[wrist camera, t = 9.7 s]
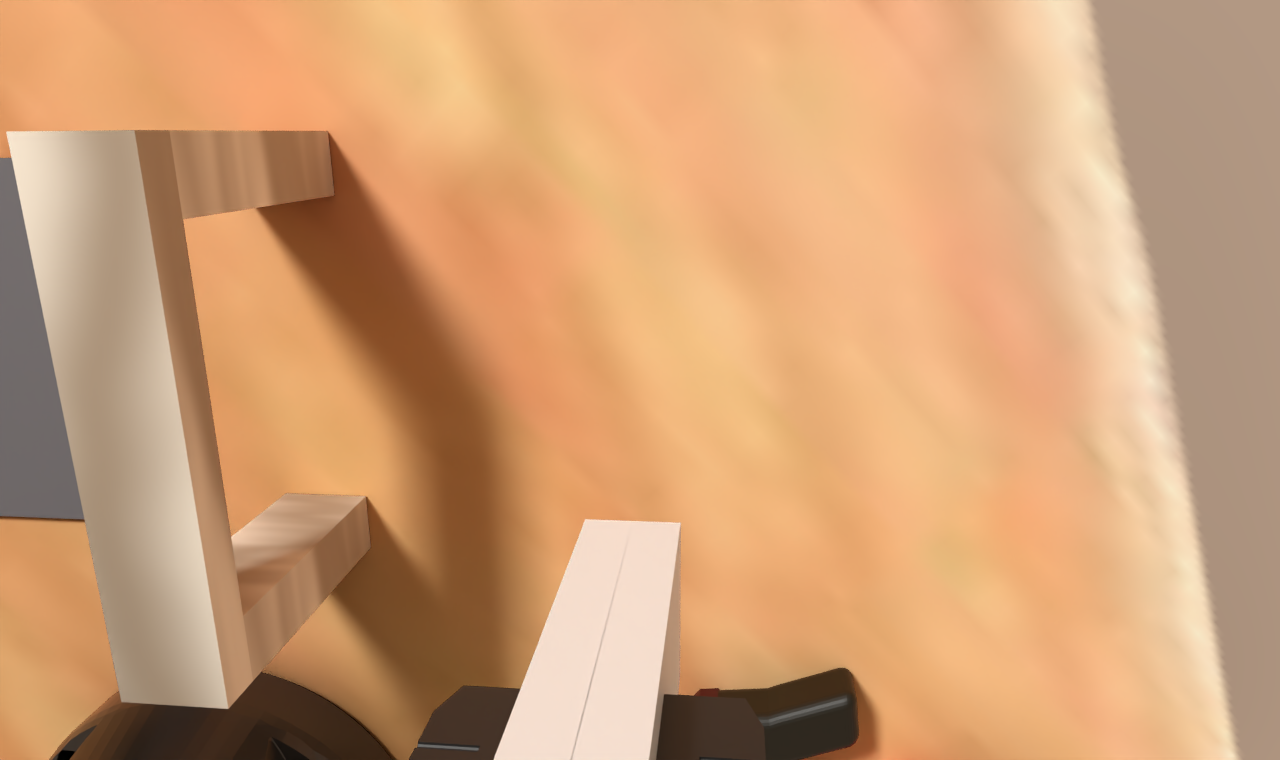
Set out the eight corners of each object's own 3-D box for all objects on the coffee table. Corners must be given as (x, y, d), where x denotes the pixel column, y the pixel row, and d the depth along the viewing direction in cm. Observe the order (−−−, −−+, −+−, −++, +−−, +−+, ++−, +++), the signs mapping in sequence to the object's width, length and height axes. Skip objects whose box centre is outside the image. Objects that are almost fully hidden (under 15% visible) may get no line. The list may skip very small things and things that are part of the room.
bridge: (327, 131, 27) (134, 130, 19) (371, 547, 31) (228, 708, 23) (238, 132, 28) (6, 131, 19) (292, 544, 32) (121, 702, 23)
